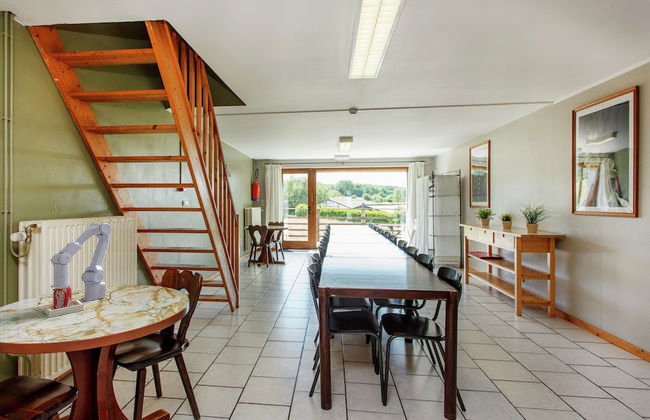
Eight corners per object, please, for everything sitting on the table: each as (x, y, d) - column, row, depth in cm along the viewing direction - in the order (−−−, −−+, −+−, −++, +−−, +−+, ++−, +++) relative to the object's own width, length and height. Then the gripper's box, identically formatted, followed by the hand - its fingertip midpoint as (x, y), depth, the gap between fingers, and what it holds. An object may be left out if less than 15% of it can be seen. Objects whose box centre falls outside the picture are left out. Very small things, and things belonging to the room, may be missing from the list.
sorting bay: (77, 305, 158) (77, 299, 158) (83, 310, 151) (83, 304, 151) (44, 311, 148) (44, 305, 148) (49, 317, 141) (49, 311, 141)
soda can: (74, 309, 152) (74, 286, 152) (57, 313, 146) (57, 289, 146) (67, 307, 155) (67, 284, 155) (50, 311, 149) (50, 287, 149)
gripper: (47, 275, 156) (47, 300, 156) (53, 279, 147) (53, 306, 147) (65, 273, 161) (64, 297, 162) (72, 277, 153) (71, 303, 153)
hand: (60, 301), depth 155 cm, fingers closed
